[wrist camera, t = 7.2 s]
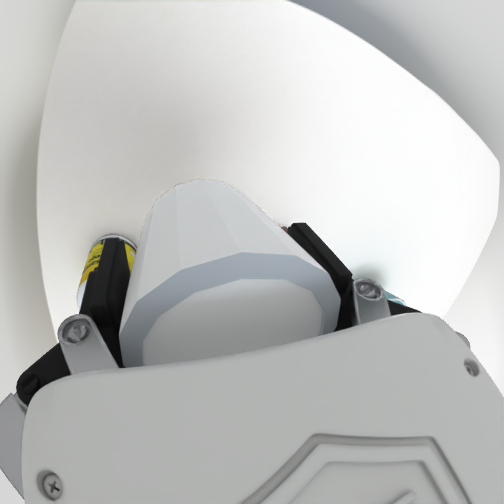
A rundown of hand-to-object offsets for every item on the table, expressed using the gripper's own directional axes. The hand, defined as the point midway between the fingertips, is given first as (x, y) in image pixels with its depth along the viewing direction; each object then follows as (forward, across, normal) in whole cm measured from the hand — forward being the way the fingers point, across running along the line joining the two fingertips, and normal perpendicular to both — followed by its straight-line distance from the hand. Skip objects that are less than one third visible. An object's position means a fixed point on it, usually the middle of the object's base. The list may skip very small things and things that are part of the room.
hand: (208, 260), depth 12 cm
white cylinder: (+2, 0, 0) cm, 2 cm away
